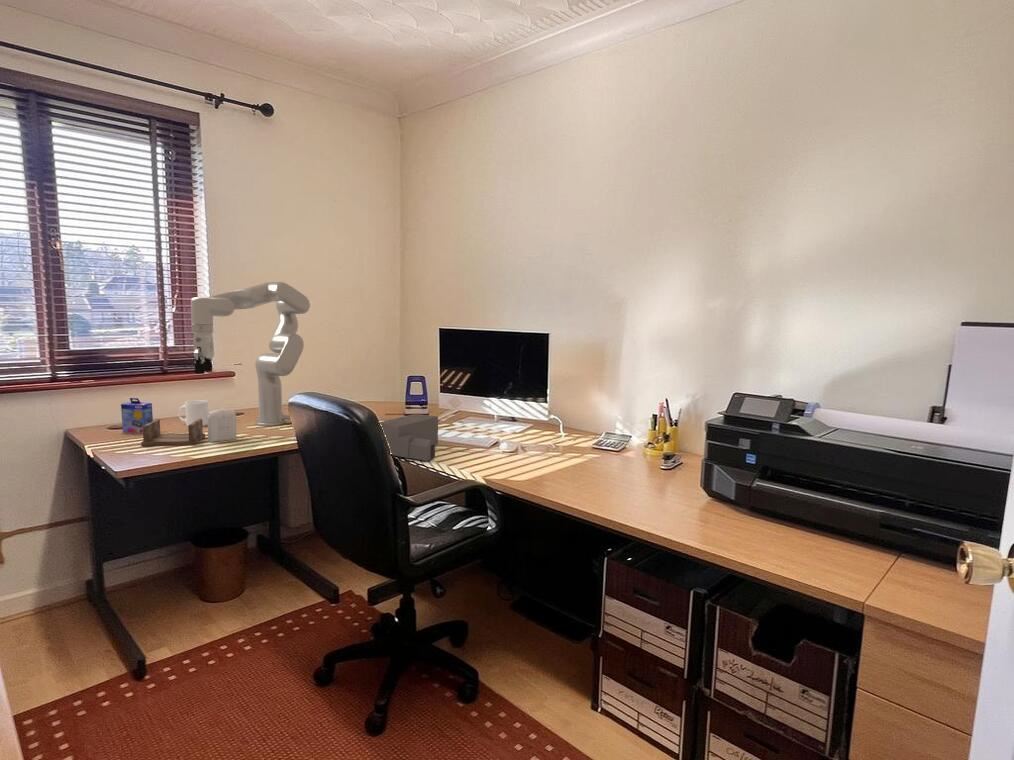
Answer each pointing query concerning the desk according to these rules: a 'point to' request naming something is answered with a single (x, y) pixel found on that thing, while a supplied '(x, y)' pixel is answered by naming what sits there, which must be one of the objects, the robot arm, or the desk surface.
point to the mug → (195, 411)
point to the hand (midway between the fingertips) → (203, 372)
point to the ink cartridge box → (135, 416)
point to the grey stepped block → (412, 436)
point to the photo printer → (221, 425)
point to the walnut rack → (171, 435)
